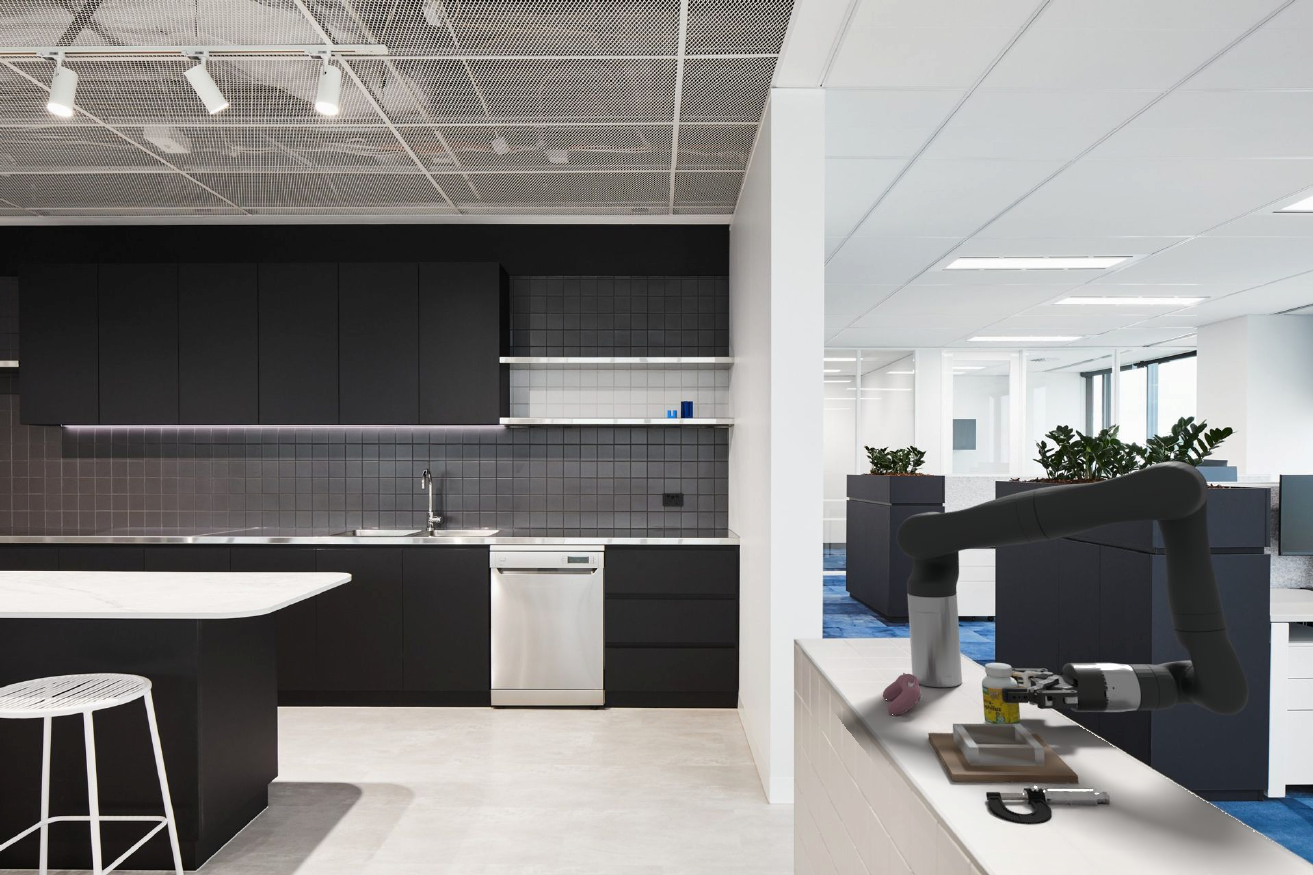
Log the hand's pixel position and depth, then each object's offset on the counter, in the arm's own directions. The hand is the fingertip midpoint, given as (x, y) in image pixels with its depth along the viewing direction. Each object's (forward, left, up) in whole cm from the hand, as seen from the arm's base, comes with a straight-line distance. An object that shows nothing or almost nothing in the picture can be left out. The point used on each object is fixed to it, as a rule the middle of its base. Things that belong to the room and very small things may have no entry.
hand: (994, 687), depth 125 cm
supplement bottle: (0, +1, -6) cm, 6 cm away
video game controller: (-9, -14, -6) cm, 17 cm away
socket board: (+15, -4, -6) cm, 17 cm away
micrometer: (+31, -2, -7) cm, 32 cm away
